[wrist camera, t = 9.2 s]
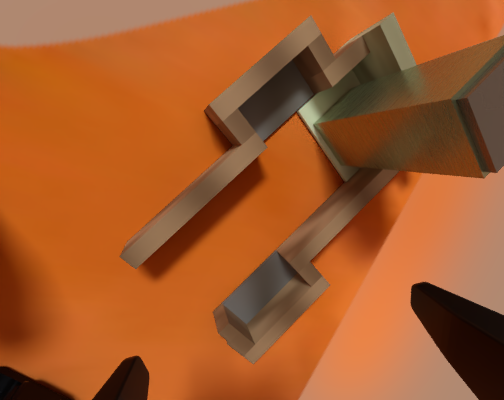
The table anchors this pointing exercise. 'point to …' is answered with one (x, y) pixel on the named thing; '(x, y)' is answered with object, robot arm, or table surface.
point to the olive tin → (425, 117)
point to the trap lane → (251, 146)
